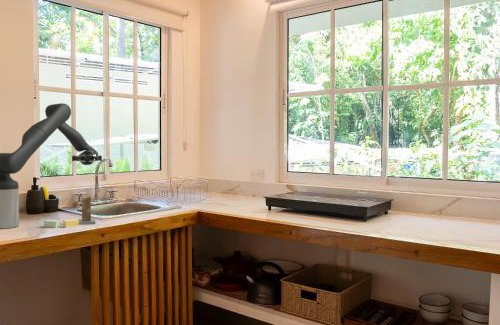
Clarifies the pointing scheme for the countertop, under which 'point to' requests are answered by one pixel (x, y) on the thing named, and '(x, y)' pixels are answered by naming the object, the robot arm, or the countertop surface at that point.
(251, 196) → the countertop surface
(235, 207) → the countertop surface
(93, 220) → the slate coaster
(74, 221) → the mustard brick
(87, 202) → the walnut post
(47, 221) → the sage brick
